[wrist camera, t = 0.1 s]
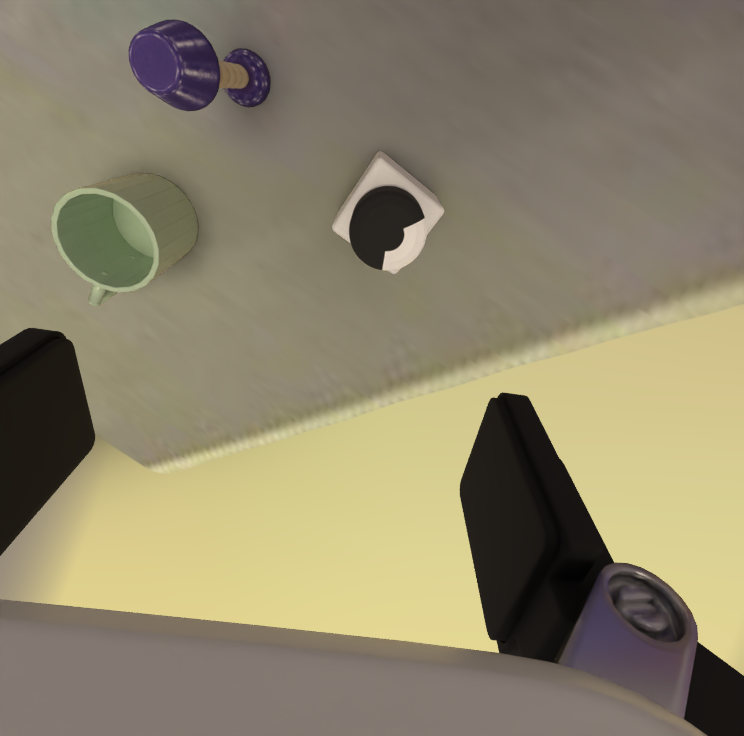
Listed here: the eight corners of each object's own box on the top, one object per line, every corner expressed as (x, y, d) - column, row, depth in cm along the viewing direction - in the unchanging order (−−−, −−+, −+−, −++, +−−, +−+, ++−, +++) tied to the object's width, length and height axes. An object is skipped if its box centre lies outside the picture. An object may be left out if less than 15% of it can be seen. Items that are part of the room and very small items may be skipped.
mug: (126, 153, 41) (65, 164, 33) (211, 207, 43) (173, 229, 36) (92, 256, 46) (32, 287, 38) (169, 299, 49) (128, 336, 41)
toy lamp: (244, 122, 39) (165, 130, 25) (204, 76, 38) (94, 56, 23) (280, 81, 38) (217, 65, 23) (239, 31, 36) (145, -21, 22)
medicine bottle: (337, 212, 43) (322, 244, 33) (379, 148, 40) (378, 162, 30) (393, 254, 45) (396, 296, 35) (437, 196, 42) (454, 224, 32)
